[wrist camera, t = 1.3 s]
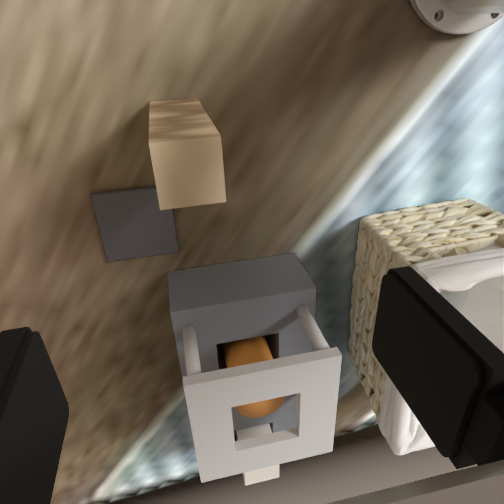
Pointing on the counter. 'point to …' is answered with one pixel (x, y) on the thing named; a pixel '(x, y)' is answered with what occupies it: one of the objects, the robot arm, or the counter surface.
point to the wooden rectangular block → (185, 154)
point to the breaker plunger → (247, 354)
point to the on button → (261, 473)
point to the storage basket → (438, 276)
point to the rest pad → (134, 224)
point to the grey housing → (255, 374)
